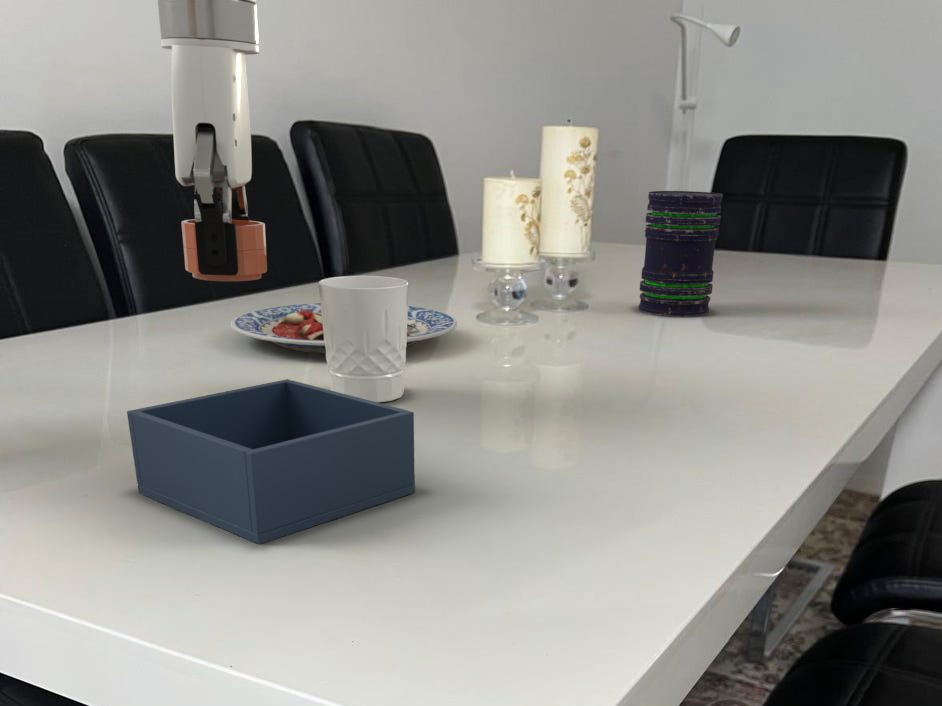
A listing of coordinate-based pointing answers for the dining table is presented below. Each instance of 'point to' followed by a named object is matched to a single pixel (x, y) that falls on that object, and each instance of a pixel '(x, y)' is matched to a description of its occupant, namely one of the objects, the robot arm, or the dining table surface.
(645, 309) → the storage jar
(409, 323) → the ceramic plate
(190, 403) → the bin
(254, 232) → the bowl
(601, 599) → the dining table surface
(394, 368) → the white cup
